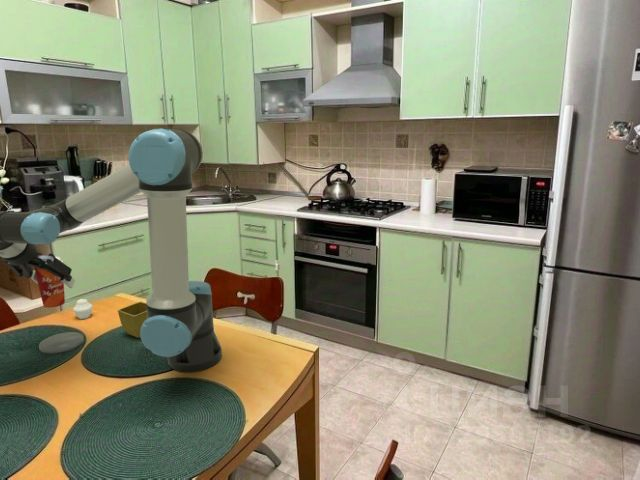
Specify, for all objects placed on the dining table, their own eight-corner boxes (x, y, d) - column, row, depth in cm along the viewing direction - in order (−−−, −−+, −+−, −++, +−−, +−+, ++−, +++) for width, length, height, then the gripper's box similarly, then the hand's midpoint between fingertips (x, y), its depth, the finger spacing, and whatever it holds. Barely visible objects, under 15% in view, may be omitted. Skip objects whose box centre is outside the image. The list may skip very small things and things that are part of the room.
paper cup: (48, 311, 128) (41, 264, 124) (34, 305, 132) (26, 260, 128) (74, 302, 134) (68, 258, 131) (60, 297, 138) (54, 254, 135)
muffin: (74, 322, 153) (71, 303, 152) (74, 316, 159) (71, 297, 157) (94, 318, 156) (91, 300, 155) (93, 312, 162) (91, 294, 160)
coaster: (85, 346, 136) (85, 343, 136) (39, 357, 130) (39, 353, 129) (81, 332, 146) (81, 328, 146) (39, 341, 140) (38, 338, 139)
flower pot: (160, 331, 146) (157, 306, 143) (137, 342, 138) (133, 315, 136) (143, 325, 150) (140, 301, 148) (120, 335, 143) (116, 310, 141)
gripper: (-32, 258, 114) (21, 295, 133) (47, 259, 113) (88, 295, 133) (-20, 234, 118) (30, 272, 137) (56, 234, 117) (95, 273, 137)
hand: (58, 284), depth 135 cm, fingers closed on paper cup, 8 cm apart
